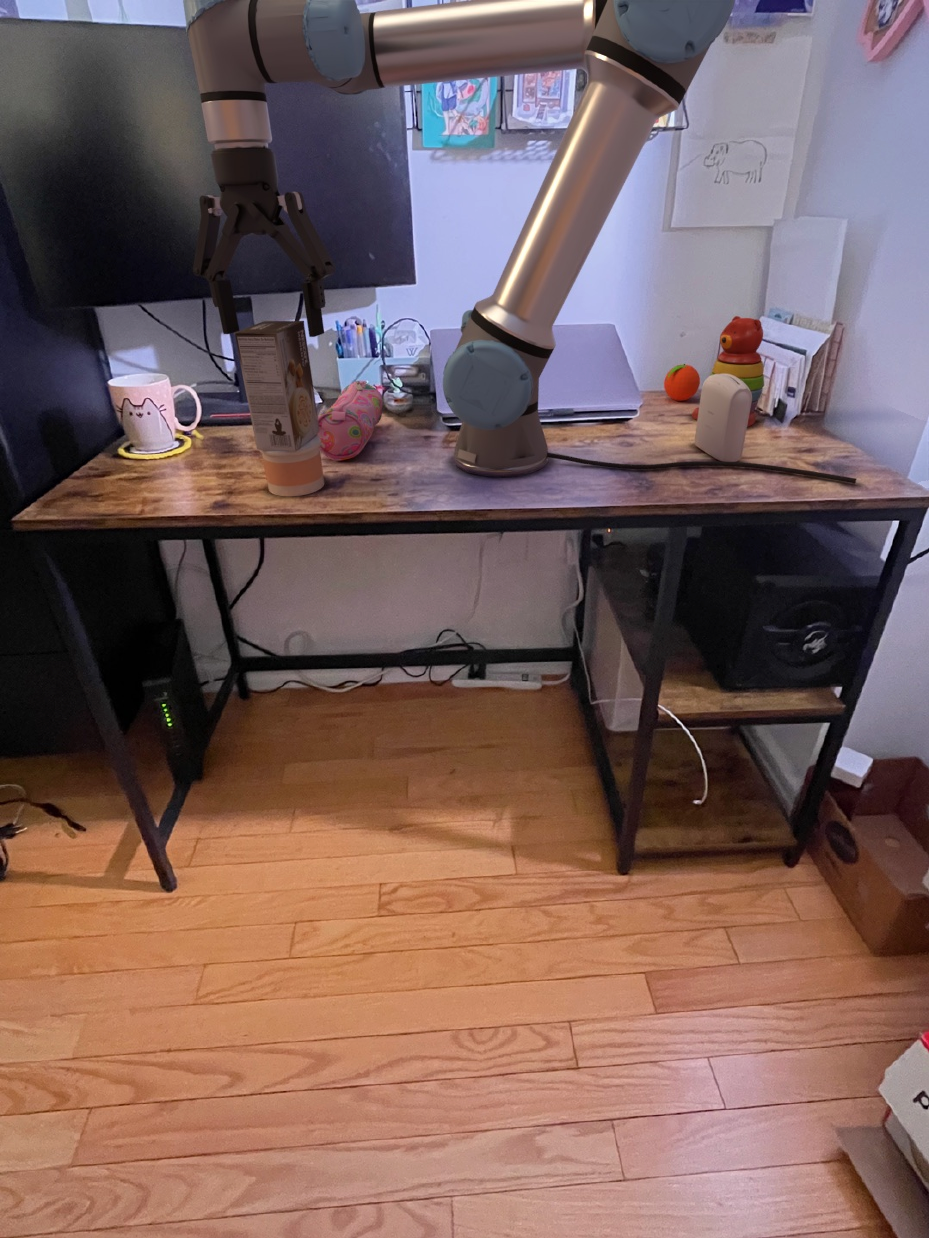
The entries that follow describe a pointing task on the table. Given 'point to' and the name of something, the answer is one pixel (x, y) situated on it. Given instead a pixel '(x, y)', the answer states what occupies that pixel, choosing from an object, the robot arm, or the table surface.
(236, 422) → the table surface
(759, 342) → the stacking bear
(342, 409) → the pencil case
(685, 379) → the clementine
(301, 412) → the coffee box
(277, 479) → the yogurt pot
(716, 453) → the photo printer
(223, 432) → the table surface
